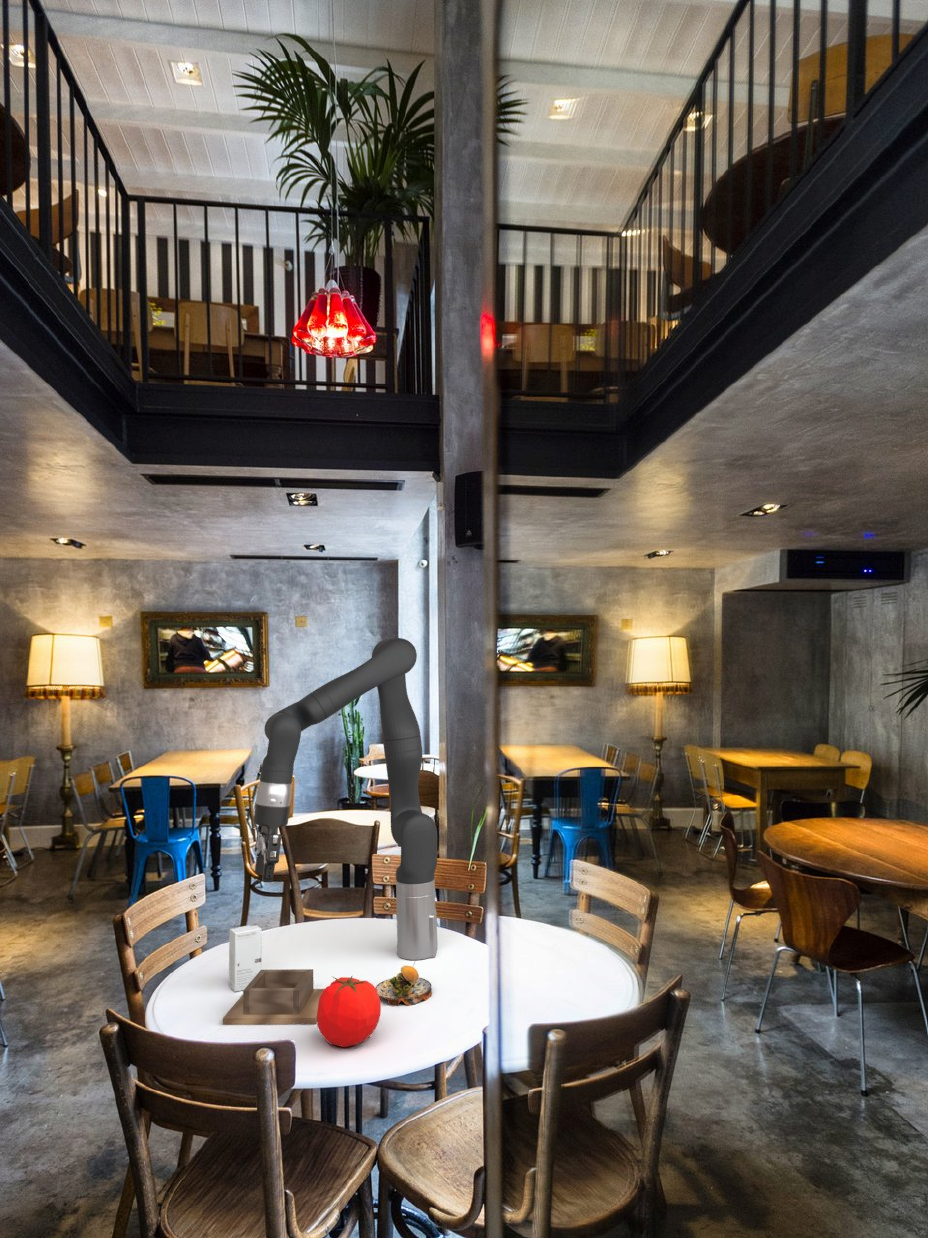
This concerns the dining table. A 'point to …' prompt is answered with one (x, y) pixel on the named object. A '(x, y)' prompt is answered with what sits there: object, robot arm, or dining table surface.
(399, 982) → the plate of food
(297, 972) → the sleeve stand
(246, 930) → the skincare box
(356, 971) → the dining table surface
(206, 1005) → the dining table surface
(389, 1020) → the dining table surface
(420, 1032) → the dining table surface
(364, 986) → the tomato
